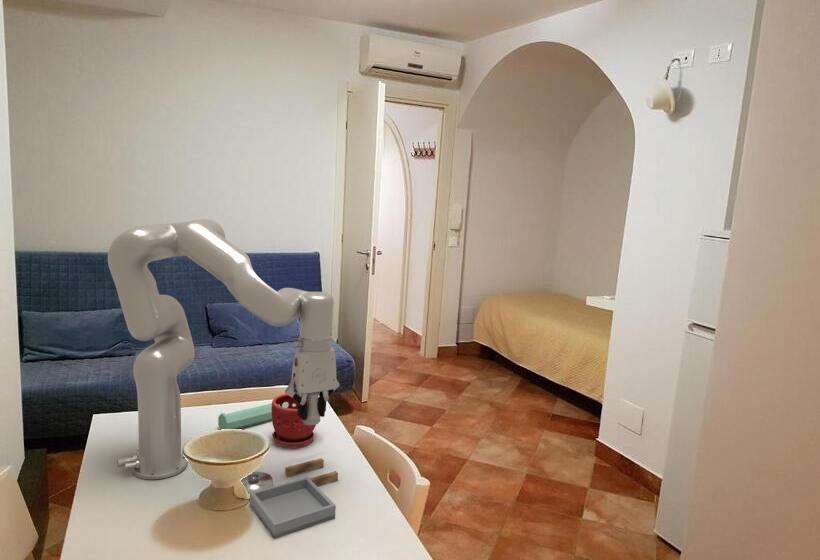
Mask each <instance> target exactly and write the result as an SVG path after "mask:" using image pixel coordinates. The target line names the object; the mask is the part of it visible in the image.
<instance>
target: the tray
mask: <svg viewBox="0 0 820 560" xmlns="http://www.w3.org/2000/svg"><path fill="white" fill-rule="evenodd" d="M250 505H251V506H250ZM249 506H250V507H251V509H252V510H253V512H254V511H255V512H254V513H255V514H256V516H257V515H258V516H257V517H258V519H259V520H260V521H261V522H262V524H263V525H264V527H265V528H266V529H267V531H268V532H269V534H270V535H271V536H272V538H273V539H276V538H280V537H283V536H286V535H289V534H292V533H295V532H298V531H301V530H304V529H306V528H307V529H308V528H310V527H313V526H315V525H318V524H322V523H324V522H328V521H330V520H331V521H332V520H333V519H336V504H335V503H334V502H333V501H332V500H331V499H330V498H329V497H328V496H327V495H326V494H325V493H324V492H323V491H322V490H321V489H320V488H319V486H318V487H317V486H316V485H315V484H314V483H313V482H312V481H311V480H310V479H309V477H308V476H306V477H301V478H299V479H295V480H291V481H288V482H284V483H281V484H278V485H273V487H269V488H266V489H262V490H258V491H255V492H251V493H250V500H249Z"/></svg>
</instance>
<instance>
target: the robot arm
mask: <svg viewBox="0 0 820 560" xmlns="http://www.w3.org/2000/svg"><path fill="white" fill-rule="evenodd" d="M175 257H187V258H189V259H190V260H192V261H193V262H194V263H195V264H197V265H198V266H200V267H201V268H203V269H204V270H206V271H207V272H208V273H209V274H210V275H212V276H213V277H215V278H216V279H218V281H220V282H221V283H223V284H224V286H226V288H227V291H228V292H230V294H231V295H232V296H233V297H234V298H235V300H236V301H237V302H238V303H239V304H240V305H241V306H242V307H243V308H244V309H245V310H247V311H248V312H249V313H251V314H252V315H253V316H255V317H257V318H258V319H259V320H261V321H262V322H264V323H265V324H267V325H270V326H272V327H277V328H278V327H285V326H286V325H288V324H290V323H291V322H292V321H293V320H295V319H298V318H299V319H300V321H299V322H300V323H299V324H300V326H299V336H298V339H297V340H296V341H295V340H294V342H293V345H294V347H295V348H297V349H296V351H295V354H294V357H293V363H292V370H291V380H290V382H289V384H288V385H287V387H286V389H285V390H284V394H287V395H289V396H291V397H293V398H294V399H295V400H296V401H297V402H298V410H297V414H298V416H299V417H300V418H301V419H302V420H303V421H304V420H306V419H307V404H306V403H305V402H306V398H307V394H310V393H316V392H318V393H319V394H320V395H319V396H318V398H317V399H318V402H317V407H318V411H319V414H320V416H321V417H322V418H323V417H325V414H326V411H327V401H329V399H330V396H331V395H332V394H333V393H334V391H336V390H337V389H338V388H340V385H341V383H339V381H338V379H337V360H336V359H337V358H336V352H335V349H334V348H332V338H333V337H332V336H333V319H334V304H335V301H334V297H333V295H331V293H328V292H326V291H325V292H324V291H308V290H302V289H298V288H294V287H283V288H280V289H279V290H278V291H277V290H275V289H274V288H273V287H271V286H270V285H268V283H266V282H265V281H263V279H261V278H260V277H259V276H258V275H257V273H256V272H255V270H254V269H253V266H252V263H251V259H250V257H249V255H248V254H247V253H245V252H244V251H243V250H241V249H240V248H238V247H237V246H236V245H235V244H233V243H232V242H230V241H229V240H227V239H226V233H225V230H224V229H223V227H222V226H221V225H220V224H219V223H218V222H216V221H214V220H211V219H206V218H205V219H204V218H203V219H196V220H195V219H194V220H189V221H182V222H171V223H170V222H169V223H159V224H149V225H148V224H147V225H140V226H135V227H130V228H129V229H128V228H127V229H126V230H124V231H123V232H121V233H119V234H118V235H117V236H116V237H115V239H114V240H113V241H112V243H111V244H110V246H109V248H108V252H107V265H108V268H109V271H110V274H111V278H112V279H113V282H114V285H115V288H116V292H117V295H118V300H119V303H120V306H121V310H122V313H123V316H124V320H125V323H126V327H127V329H128V332H129V334H130V336H132V337H133V338H134V339H135V340H138V341H141V342H147V341H151V340H153V341H154V343H153V344H151V345H148V346H147V347H146V348H144V349H143V350H142V351H140V353H139V354H137V356H136V358H135V360H134V362H133V368H132V369H133V377H134V381H135V382H134V383H135V385H136V386H135V387H136V392H137V393H136V394H137V413H138V414H137V415H138V416H137V417H138V418H137V419H138V421H137V423H138V424H137V425H138V449H136V450H135V454H131V456H128V457H122V458H117V460H116V463H117V467H118V468H121V467H124V469H125V470H129V469H131V470H132V471H131V472H132V475H134V476H135V477H136V478H139V479H143V480H162V479H167V478H170V477H173V476H177V475H178V474H180V473H181V472H183V471H184V470H185V469H186V468H187V467H188V461H189V460H188V461H187V460H186V459H185V457H184V456H183V454H184V453H182V417H181V416H182V409H181V408H182V406H181V405H182V404H181V398H182V397H181V392H180V388H179V387H180V386H179V385H178V380H177V379H178V376H179V375H180V373H182V372H183V371H185V370H186V369H187V368H188V367H189V366H190V365H191V364H192V363H193V361H194V358H195V352H196V351H195V347H194V346H195V345H194V342H193V337H192V334H191V330H190V327H189V324H188V320H187V316H186V313H185V310H184V307H183V306H182V304H181V303H180V302H179V300H178V299H176V298H175V297H173V296H171V295H168V294H160V292H159V290H158V286H157V282H156V281H157V280H156V279H155V277H154V275H153V273H152V272H151V271H150V269H149V268H148V264H149V263H151V262H155V261H160V260H164V259H168V258H175ZM294 390H296V392H295V391H294ZM321 417H320V418H321Z"/></svg>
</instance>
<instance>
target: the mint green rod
mask: <svg viewBox="0 0 820 560" xmlns="http://www.w3.org/2000/svg"><path fill="white" fill-rule="evenodd" d="M288 405H289V404H288V402H284V403H283V404H282V407H284V408H287V407H288ZM278 406H280V404H279V405H278ZM292 406H293V407H295V406H296V404H293V405H292ZM271 408H272V402H270V403H266V404H263V405H258V406H255V407H251V408H246V409H242V410H237V411H234V412H229V413H225V412H222V413H220V414H219V415H218V417H217V419H218V420H217V421H218V423H217V426H218V428H219V431H220V430H221V429H236V430H239V429H243V428H248V427H250V426H256V425H258V424H262V423H266V422H269V421H272V414H271Z"/></svg>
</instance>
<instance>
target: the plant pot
mask: <svg viewBox="0 0 820 560" xmlns="http://www.w3.org/2000/svg"><path fill="white" fill-rule="evenodd" d="M307 399H308V397H307V398H306V402H305V403H306V404H307ZM284 402H288V404H289V405H288V407H287V408H284V407H282V404H283V403H284ZM271 403H272V408H271V414H272V420H271V421H272V426H273V430H274V431H273V432H272V433H271V434H272V435H271V439H272V440H273V441H274V443H276V444H277V445H279V446H281V447H285V448H300V447H303V446H306V445H309V443H311V442H312V441H313V440H314V437H315V433H314V430H315V428H316V427H317V424H316V425H306V424H304V423H303V421H302V419H301V418H300V417H299V416H298V414H297V410H298V402H297V401H296V400H295V399H294V398H293V397H291V396H289V395H287V394H286V393H284V394H279V395H277V396H275V397H274V398H273V399H272V401H271ZM279 404H280V406H278V405H279ZM293 404H296V406H295V407H293V406H292V405H293Z"/></svg>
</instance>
